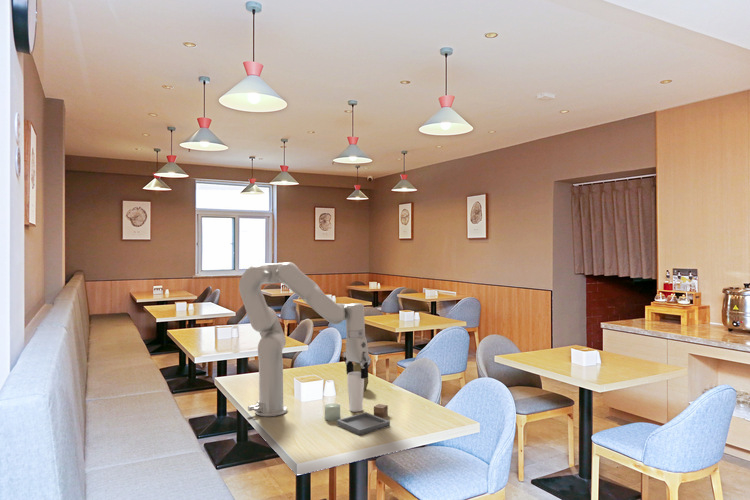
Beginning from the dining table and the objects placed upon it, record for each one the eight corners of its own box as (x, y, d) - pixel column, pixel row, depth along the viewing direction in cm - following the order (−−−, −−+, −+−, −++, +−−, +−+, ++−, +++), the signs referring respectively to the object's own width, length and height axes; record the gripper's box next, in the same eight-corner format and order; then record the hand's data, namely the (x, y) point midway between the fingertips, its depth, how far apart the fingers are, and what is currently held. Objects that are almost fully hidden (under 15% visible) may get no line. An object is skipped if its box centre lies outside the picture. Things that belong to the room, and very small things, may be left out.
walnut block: (382, 418, 194) (382, 408, 194) (373, 416, 196) (373, 406, 196) (387, 415, 198) (387, 405, 198) (378, 413, 200) (378, 403, 200)
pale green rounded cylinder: (330, 422, 190) (330, 409, 190) (321, 418, 195) (321, 405, 195) (343, 418, 194) (343, 406, 194) (334, 415, 198) (334, 402, 198)
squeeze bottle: (371, 388, 236) (371, 350, 236) (362, 393, 229) (361, 353, 229) (357, 386, 240) (357, 348, 240) (347, 390, 233) (347, 351, 233)
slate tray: (359, 435, 176) (359, 430, 176) (336, 424, 187) (336, 420, 187) (389, 426, 185) (389, 421, 185) (366, 416, 196) (366, 412, 196)
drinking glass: (362, 413, 200) (361, 375, 200) (345, 412, 201) (345, 375, 202) (366, 408, 207) (365, 371, 207) (350, 407, 208) (349, 371, 208)
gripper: (376, 334, 200) (378, 377, 200) (350, 330, 213) (351, 370, 213) (361, 337, 195) (363, 381, 195) (335, 333, 208) (337, 374, 208)
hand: (357, 375), depth 204 cm, fingers open, 9 cm apart
